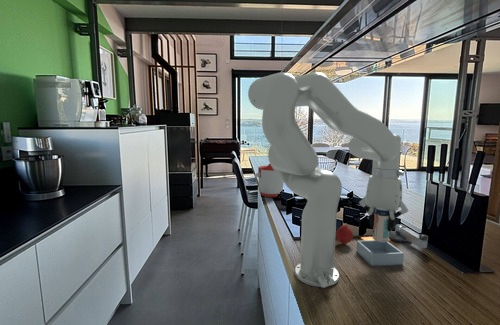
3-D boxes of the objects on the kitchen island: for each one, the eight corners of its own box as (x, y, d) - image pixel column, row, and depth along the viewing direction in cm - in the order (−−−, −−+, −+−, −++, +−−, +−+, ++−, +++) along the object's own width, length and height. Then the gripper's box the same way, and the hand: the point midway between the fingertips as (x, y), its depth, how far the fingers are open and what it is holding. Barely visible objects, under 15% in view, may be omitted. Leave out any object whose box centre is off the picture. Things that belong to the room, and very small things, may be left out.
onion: (341, 248, 100) (342, 227, 99) (332, 242, 106) (333, 221, 104) (355, 247, 102) (356, 225, 100) (346, 240, 107) (347, 220, 106)
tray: (402, 265, 89) (403, 253, 89) (372, 266, 88) (372, 254, 87) (384, 250, 99) (385, 239, 99) (356, 251, 98) (357, 240, 97)
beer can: (374, 235, 96) (377, 201, 94) (390, 239, 93) (392, 204, 91) (370, 240, 92) (372, 205, 91) (386, 244, 89) (388, 208, 88)
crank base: (416, 242, 106) (417, 238, 105) (368, 244, 104) (368, 240, 103) (403, 233, 114) (403, 229, 113) (358, 235, 112) (358, 231, 111)
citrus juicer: (252, 192, 177) (253, 161, 174) (279, 191, 180) (280, 160, 177) (258, 199, 161) (258, 165, 158) (287, 198, 164) (288, 164, 161)
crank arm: (393, 231, 110) (394, 221, 110) (401, 231, 111) (402, 221, 110) (420, 249, 96) (421, 237, 95) (430, 248, 96) (431, 237, 95)
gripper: (417, 174, 87) (412, 230, 90) (361, 168, 97) (358, 219, 100) (413, 178, 81) (408, 238, 84) (353, 172, 92) (351, 225, 94)
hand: (381, 227), depth 92 cm, fingers closed on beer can, 4 cm apart
